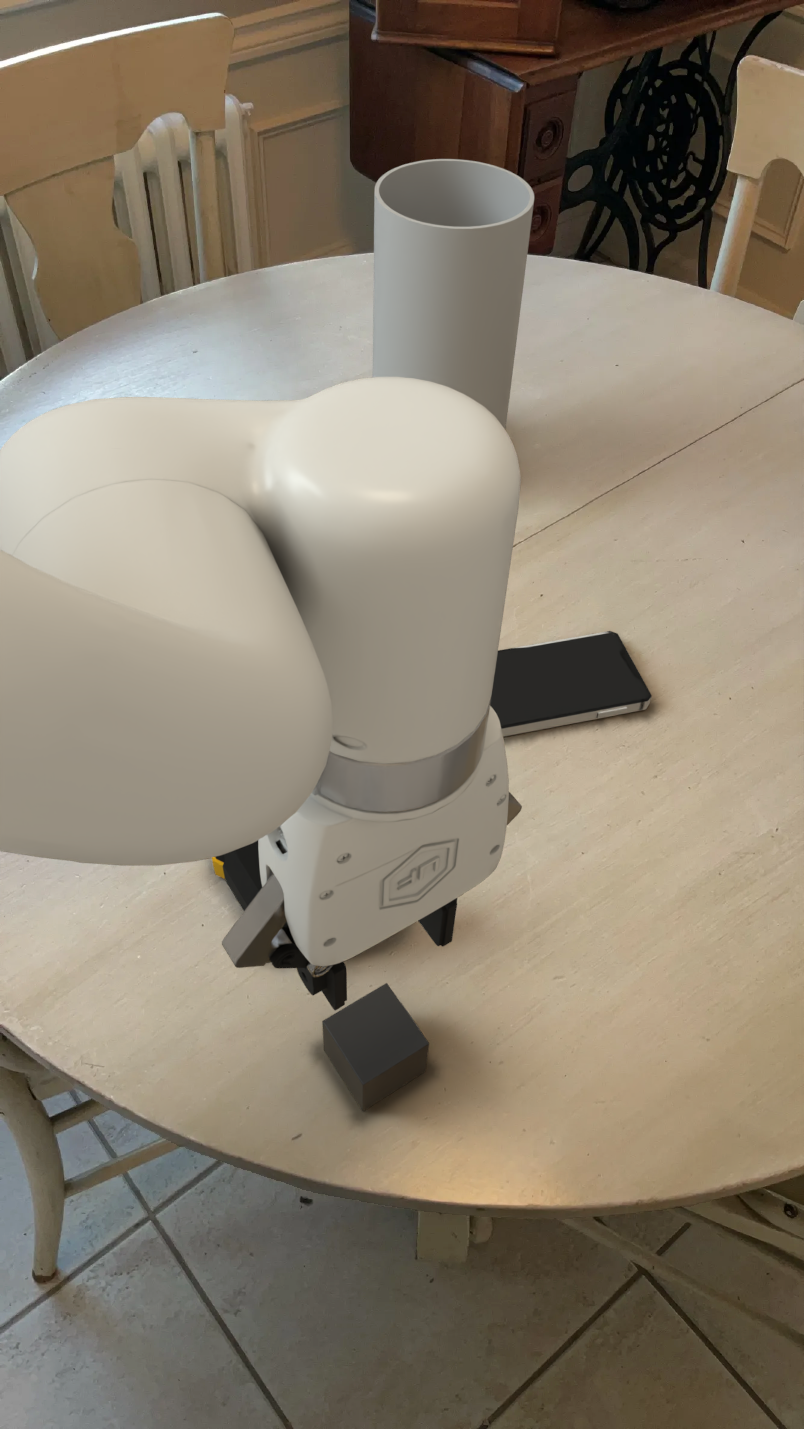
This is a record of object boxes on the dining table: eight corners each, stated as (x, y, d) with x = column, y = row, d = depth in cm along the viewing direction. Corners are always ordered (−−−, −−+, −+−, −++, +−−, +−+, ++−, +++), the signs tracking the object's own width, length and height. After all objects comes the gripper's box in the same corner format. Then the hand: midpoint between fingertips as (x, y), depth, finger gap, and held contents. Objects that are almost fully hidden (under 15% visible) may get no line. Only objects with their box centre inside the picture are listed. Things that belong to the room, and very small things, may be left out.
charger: (362, 1112, 60) (363, 1085, 57) (323, 1049, 63) (321, 1021, 60) (428, 1069, 62) (432, 1041, 59) (388, 1010, 64) (389, 980, 61)
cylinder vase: (528, 466, 101) (567, 200, 82) (429, 516, 95) (447, 244, 76) (442, 407, 107) (460, 146, 88) (345, 451, 102) (342, 183, 83)
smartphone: (436, 659, 82) (615, 628, 85) (436, 669, 83) (612, 638, 86) (466, 736, 77) (655, 700, 80) (465, 747, 78) (651, 711, 81)
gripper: (221, 901, 33) (261, 1110, 47) (628, 688, 40) (559, 927, 53) (123, 744, 37) (186, 980, 51) (508, 574, 44) (472, 824, 57)
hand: (377, 951), depth 52 cm, fingers open, 5 cm apart
